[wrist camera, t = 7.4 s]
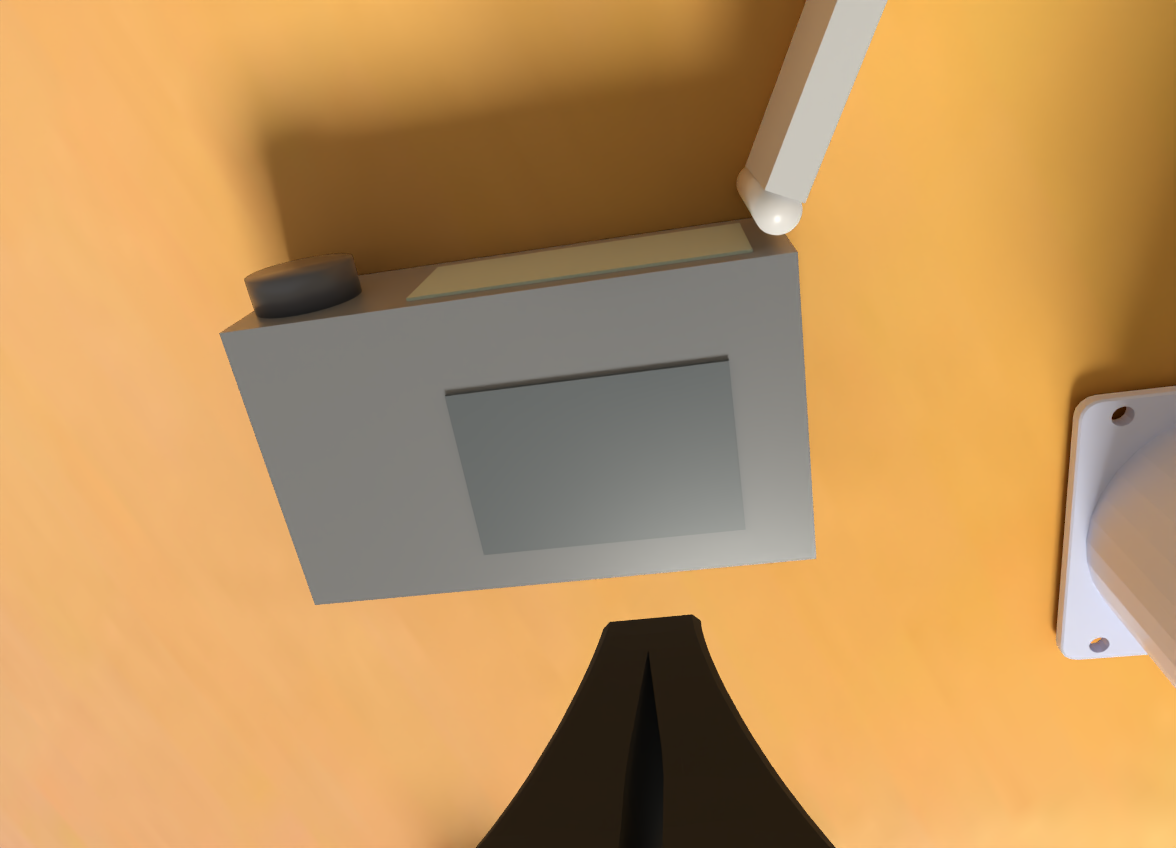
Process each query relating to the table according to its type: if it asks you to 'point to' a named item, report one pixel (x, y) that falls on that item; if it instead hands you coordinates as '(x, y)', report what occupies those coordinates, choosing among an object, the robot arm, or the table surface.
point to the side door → (805, 108)
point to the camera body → (534, 412)
